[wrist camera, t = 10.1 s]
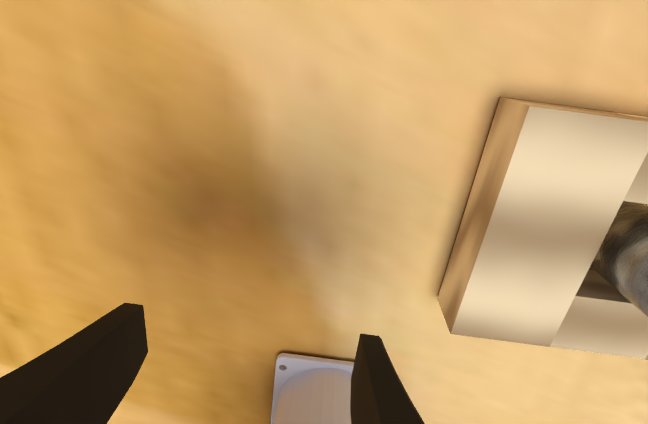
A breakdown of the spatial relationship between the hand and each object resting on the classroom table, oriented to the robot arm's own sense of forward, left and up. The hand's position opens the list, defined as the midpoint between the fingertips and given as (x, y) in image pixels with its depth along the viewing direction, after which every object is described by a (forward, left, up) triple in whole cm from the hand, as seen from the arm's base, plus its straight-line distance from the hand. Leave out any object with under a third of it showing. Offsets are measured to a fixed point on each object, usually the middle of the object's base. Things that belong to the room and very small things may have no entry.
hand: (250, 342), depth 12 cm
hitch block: (+2, -18, -9) cm, 20 cm away
